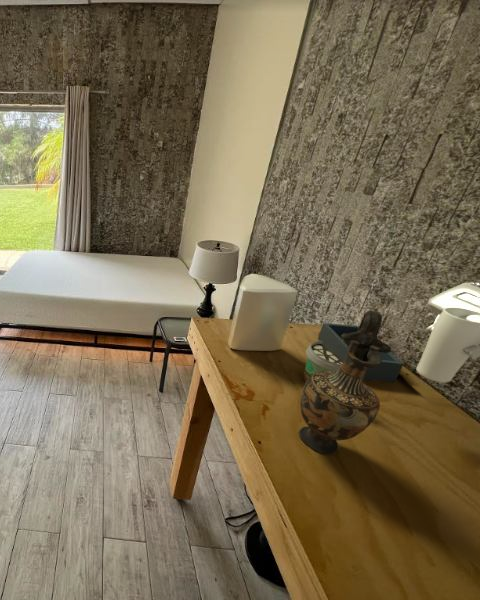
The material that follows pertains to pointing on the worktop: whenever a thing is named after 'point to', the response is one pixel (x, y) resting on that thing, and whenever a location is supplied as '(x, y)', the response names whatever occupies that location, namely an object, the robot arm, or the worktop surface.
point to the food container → (320, 360)
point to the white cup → (448, 344)
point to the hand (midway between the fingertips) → (448, 343)
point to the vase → (343, 391)
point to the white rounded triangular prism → (261, 314)
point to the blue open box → (336, 345)
